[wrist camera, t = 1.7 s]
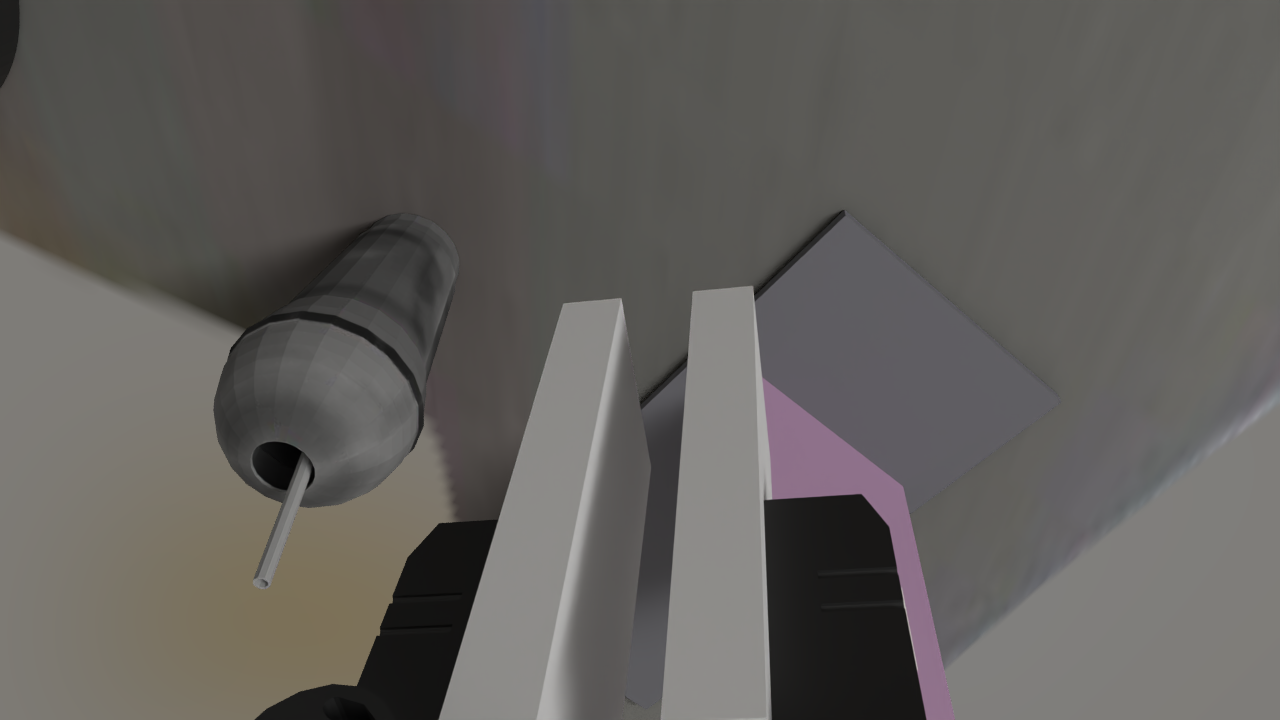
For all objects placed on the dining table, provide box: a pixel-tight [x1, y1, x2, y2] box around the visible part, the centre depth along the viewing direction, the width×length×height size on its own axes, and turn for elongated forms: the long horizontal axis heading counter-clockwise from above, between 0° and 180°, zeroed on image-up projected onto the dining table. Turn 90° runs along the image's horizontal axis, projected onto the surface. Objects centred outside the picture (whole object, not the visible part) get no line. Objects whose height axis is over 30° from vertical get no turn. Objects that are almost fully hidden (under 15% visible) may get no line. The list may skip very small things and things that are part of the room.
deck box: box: [762, 377, 955, 720], centre depth 43 cm, size 4×10×16 cm, turn 51°
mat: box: [625, 210, 1061, 709], centre depth 52 cm, size 30×14×1 cm, turn 140°
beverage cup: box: [214, 213, 459, 589], centre depth 38 cm, size 7×7×20 cm
